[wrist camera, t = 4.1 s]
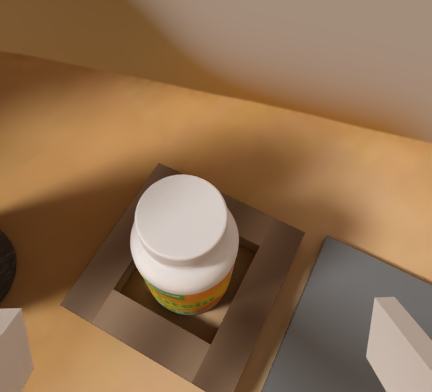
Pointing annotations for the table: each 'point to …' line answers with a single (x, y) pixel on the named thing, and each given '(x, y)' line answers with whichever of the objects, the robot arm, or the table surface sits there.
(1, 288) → the travel mug
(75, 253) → the table surface
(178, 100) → the table surface
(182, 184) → the supplement bottle
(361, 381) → the slate pad
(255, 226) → the brown flat square frame
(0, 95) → the table surface
